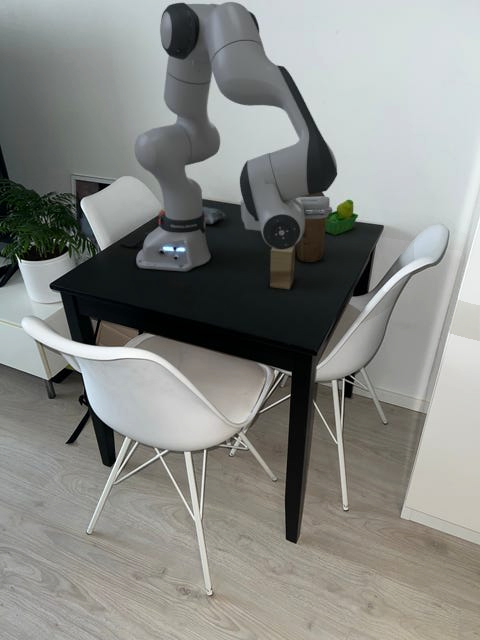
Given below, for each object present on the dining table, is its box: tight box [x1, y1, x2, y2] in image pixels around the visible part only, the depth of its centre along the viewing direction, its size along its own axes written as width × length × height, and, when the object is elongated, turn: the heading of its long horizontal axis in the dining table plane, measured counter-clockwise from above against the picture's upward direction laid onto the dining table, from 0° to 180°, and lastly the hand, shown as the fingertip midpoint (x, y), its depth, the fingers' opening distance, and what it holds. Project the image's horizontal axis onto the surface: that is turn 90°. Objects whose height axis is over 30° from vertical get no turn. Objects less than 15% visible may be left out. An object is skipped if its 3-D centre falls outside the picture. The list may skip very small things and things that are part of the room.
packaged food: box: [203, 206, 226, 225], centre depth 179 cm, size 9×12×5 cm
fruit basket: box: [325, 199, 359, 236], centre depth 169 cm, size 11×9×11 cm
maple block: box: [269, 245, 296, 290], centre depth 138 cm, size 6×6×11 cm
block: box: [295, 192, 326, 263], centre depth 150 cm, size 11×8×20 cm
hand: (285, 201), depth 121 cm, fingers open, 8 cm apart
